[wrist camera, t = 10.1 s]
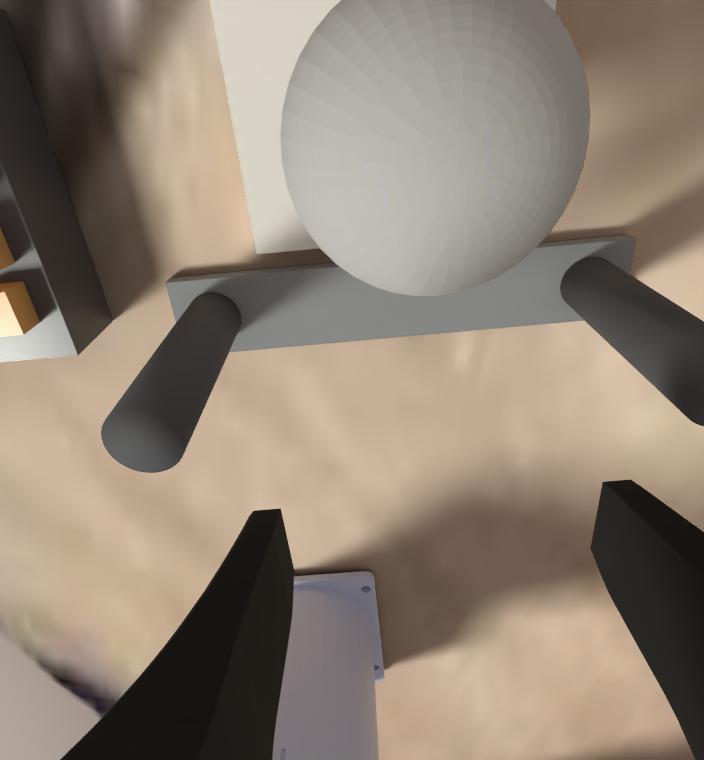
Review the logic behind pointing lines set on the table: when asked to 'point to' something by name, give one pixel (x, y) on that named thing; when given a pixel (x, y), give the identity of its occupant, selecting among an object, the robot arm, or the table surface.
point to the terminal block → (39, 233)
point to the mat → (266, 104)
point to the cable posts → (394, 330)
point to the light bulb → (434, 138)
